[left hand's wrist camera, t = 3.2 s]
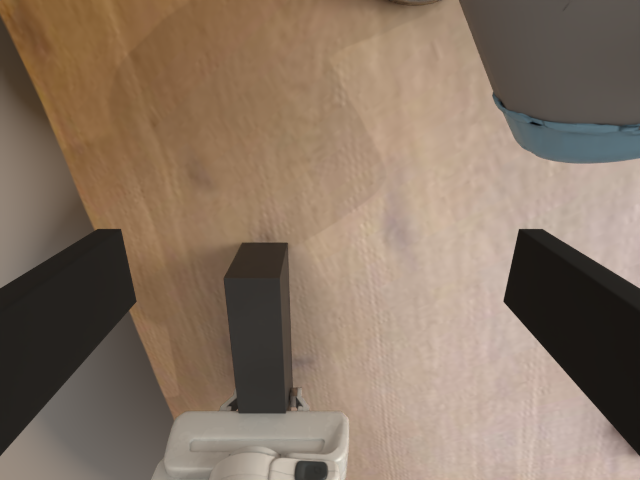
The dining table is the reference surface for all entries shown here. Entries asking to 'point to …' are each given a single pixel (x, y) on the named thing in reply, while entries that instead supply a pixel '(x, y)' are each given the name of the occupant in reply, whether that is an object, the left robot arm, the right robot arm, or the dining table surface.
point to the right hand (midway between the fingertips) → (269, 391)
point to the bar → (260, 327)
